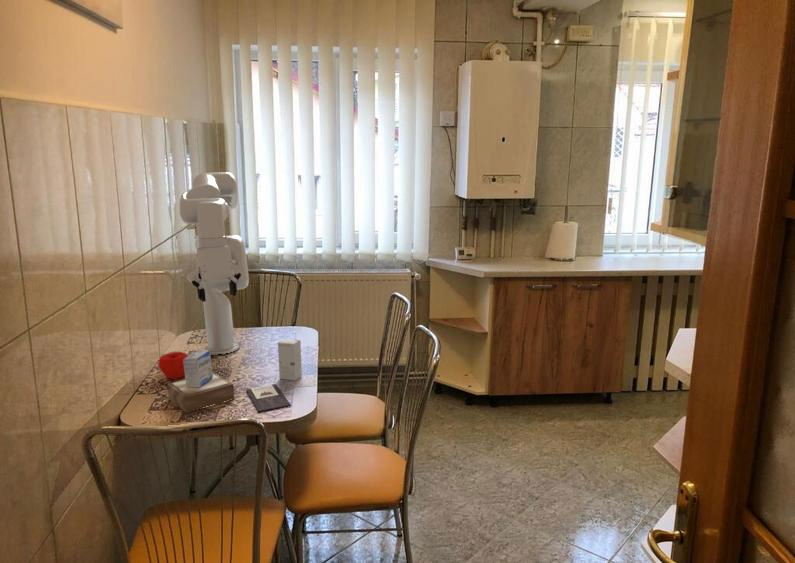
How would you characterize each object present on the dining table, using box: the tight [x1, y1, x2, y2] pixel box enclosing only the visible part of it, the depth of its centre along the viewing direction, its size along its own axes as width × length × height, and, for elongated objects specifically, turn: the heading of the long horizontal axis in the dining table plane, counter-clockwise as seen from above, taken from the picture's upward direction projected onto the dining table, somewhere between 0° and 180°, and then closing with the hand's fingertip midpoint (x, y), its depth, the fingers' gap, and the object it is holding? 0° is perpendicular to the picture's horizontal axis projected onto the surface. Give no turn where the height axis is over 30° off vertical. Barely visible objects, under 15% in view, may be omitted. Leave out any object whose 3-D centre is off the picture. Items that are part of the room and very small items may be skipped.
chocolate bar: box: [245, 383, 292, 413], centre depth 173 cm, size 9×1×18 cm
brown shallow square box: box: [167, 371, 235, 414], centre depth 173 cm, size 14×14×5 cm
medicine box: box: [183, 349, 213, 388], centre depth 172 cm, size 8×4×9 cm, turn 171°
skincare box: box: [277, 338, 303, 381], centre depth 187 cm, size 6×4×12 cm
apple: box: [158, 351, 189, 380], centre depth 192 cm, size 9×9×8 cm
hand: (218, 297), depth 182 cm, fingers open, 9 cm apart
